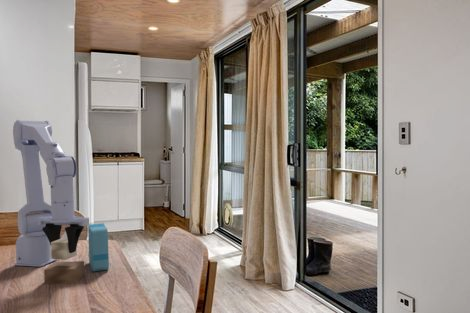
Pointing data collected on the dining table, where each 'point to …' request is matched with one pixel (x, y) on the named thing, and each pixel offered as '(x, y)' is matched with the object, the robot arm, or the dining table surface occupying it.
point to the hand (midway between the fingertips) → (64, 251)
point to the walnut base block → (64, 272)
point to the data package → (98, 247)
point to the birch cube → (61, 250)
